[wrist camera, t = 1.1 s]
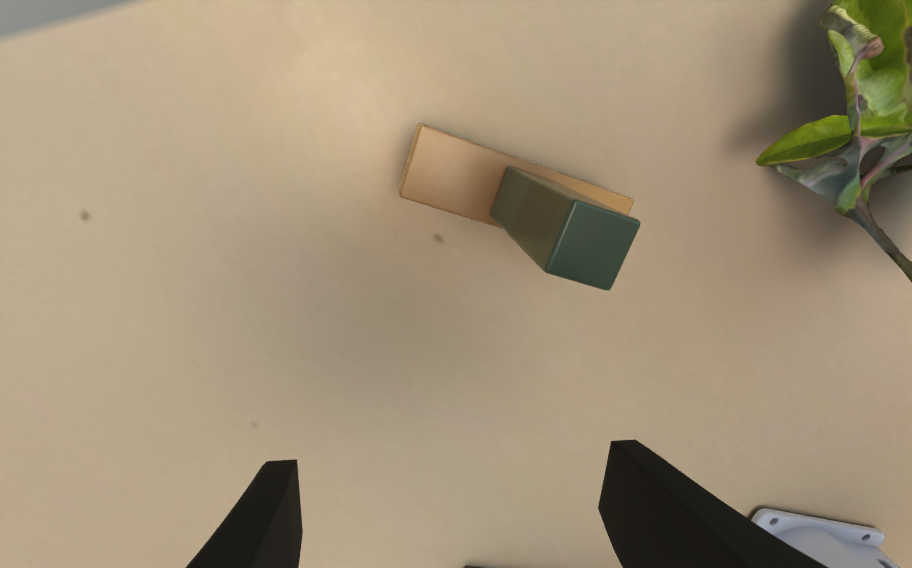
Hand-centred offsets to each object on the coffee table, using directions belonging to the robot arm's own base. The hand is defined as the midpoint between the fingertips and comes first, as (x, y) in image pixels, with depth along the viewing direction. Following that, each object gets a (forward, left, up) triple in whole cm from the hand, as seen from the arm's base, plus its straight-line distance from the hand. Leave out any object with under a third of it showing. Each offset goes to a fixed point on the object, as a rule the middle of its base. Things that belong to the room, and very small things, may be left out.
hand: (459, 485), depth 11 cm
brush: (-2, -6, -10) cm, 11 cm away
